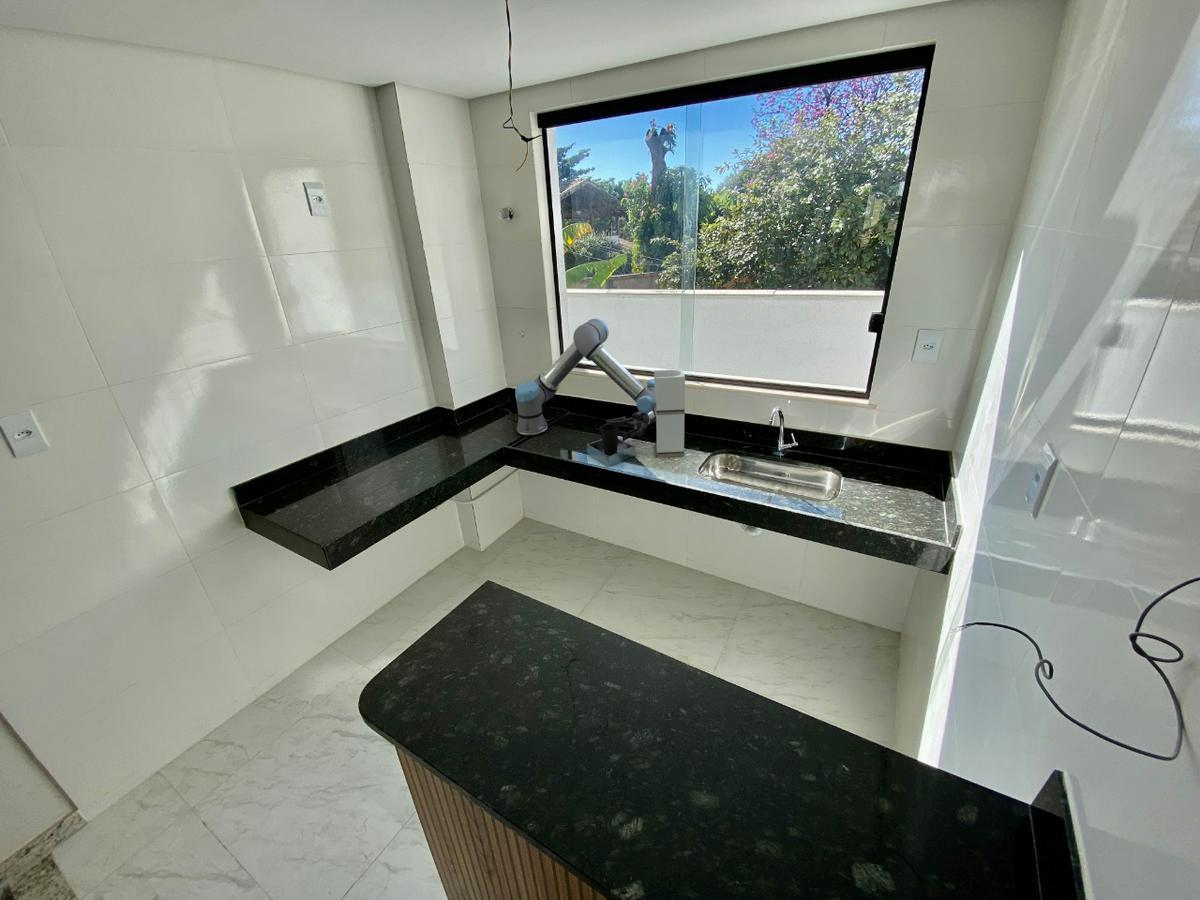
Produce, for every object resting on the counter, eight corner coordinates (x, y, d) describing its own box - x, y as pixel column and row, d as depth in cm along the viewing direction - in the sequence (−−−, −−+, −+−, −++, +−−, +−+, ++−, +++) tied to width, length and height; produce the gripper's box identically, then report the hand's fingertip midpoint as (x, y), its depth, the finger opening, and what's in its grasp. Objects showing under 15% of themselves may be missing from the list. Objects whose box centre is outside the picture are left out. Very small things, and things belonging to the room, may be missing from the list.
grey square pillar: (680, 445, 216) (681, 368, 201) (683, 455, 206) (685, 376, 191) (655, 446, 216) (654, 370, 201) (656, 456, 207) (656, 378, 192)
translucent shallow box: (587, 453, 214) (586, 444, 212) (612, 444, 221) (611, 435, 219) (609, 466, 202) (608, 456, 200) (635, 455, 209) (634, 446, 207)
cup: (620, 448, 214) (618, 423, 209) (619, 456, 207) (617, 431, 202) (602, 449, 215) (601, 424, 209) (601, 456, 208) (599, 431, 203)
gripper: (664, 432, 215) (633, 449, 201) (622, 420, 231) (591, 435, 217) (664, 417, 211) (632, 433, 198) (621, 405, 227) (590, 419, 214)
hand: (611, 434), depth 208 cm, fingers open, 13 cm apart
